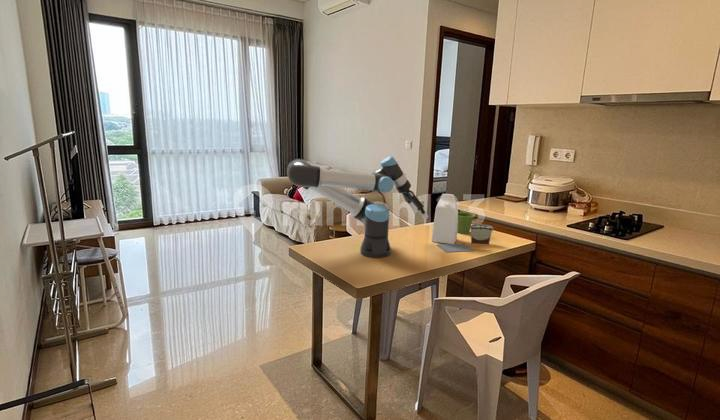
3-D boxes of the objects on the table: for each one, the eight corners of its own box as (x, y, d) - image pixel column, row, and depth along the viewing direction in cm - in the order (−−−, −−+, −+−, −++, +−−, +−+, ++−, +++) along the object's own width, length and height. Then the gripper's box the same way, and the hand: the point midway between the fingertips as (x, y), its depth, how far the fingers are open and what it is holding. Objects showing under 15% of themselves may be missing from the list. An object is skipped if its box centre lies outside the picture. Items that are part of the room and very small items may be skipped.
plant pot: (449, 230, 236) (451, 212, 233) (466, 229, 239) (468, 211, 236) (458, 235, 224) (460, 216, 222) (476, 234, 227) (478, 216, 225)
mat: (446, 252, 194) (446, 251, 194) (436, 245, 205) (436, 244, 205) (474, 250, 198) (474, 250, 198) (463, 243, 209) (463, 243, 209)
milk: (456, 239, 217) (460, 193, 211) (453, 244, 206) (457, 196, 201) (435, 236, 221) (439, 191, 216) (431, 241, 211) (434, 194, 205)
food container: (489, 241, 215) (490, 224, 213) (491, 244, 209) (493, 227, 207) (466, 240, 216) (468, 223, 214) (468, 243, 210) (470, 225, 208)
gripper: (416, 182, 188) (436, 216, 195) (399, 175, 211) (418, 205, 218) (403, 191, 187) (424, 225, 194) (388, 183, 211) (407, 213, 218)
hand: (421, 214), depth 206 cm, fingers open, 13 cm apart
